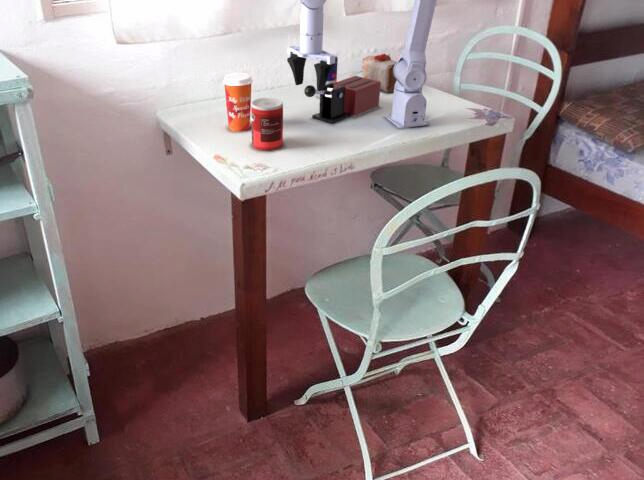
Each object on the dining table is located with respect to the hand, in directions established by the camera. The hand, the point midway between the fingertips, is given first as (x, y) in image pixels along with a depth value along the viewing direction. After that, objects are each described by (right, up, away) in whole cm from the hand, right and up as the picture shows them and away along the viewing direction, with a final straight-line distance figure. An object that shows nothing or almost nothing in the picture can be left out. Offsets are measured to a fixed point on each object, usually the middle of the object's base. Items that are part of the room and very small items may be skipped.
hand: (309, 87), depth 173 cm
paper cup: (-18, -10, +6) cm, 21 cm away
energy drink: (+8, +4, +26) cm, 27 cm away
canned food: (-11, -16, -5) cm, 21 cm away
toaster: (+14, -2, +15) cm, 21 cm away
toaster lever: (+3, -2, +3) cm, 5 cm away
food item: (+26, +9, +32) cm, 42 cm away
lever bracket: (+7, -6, +10) cm, 13 cm away
